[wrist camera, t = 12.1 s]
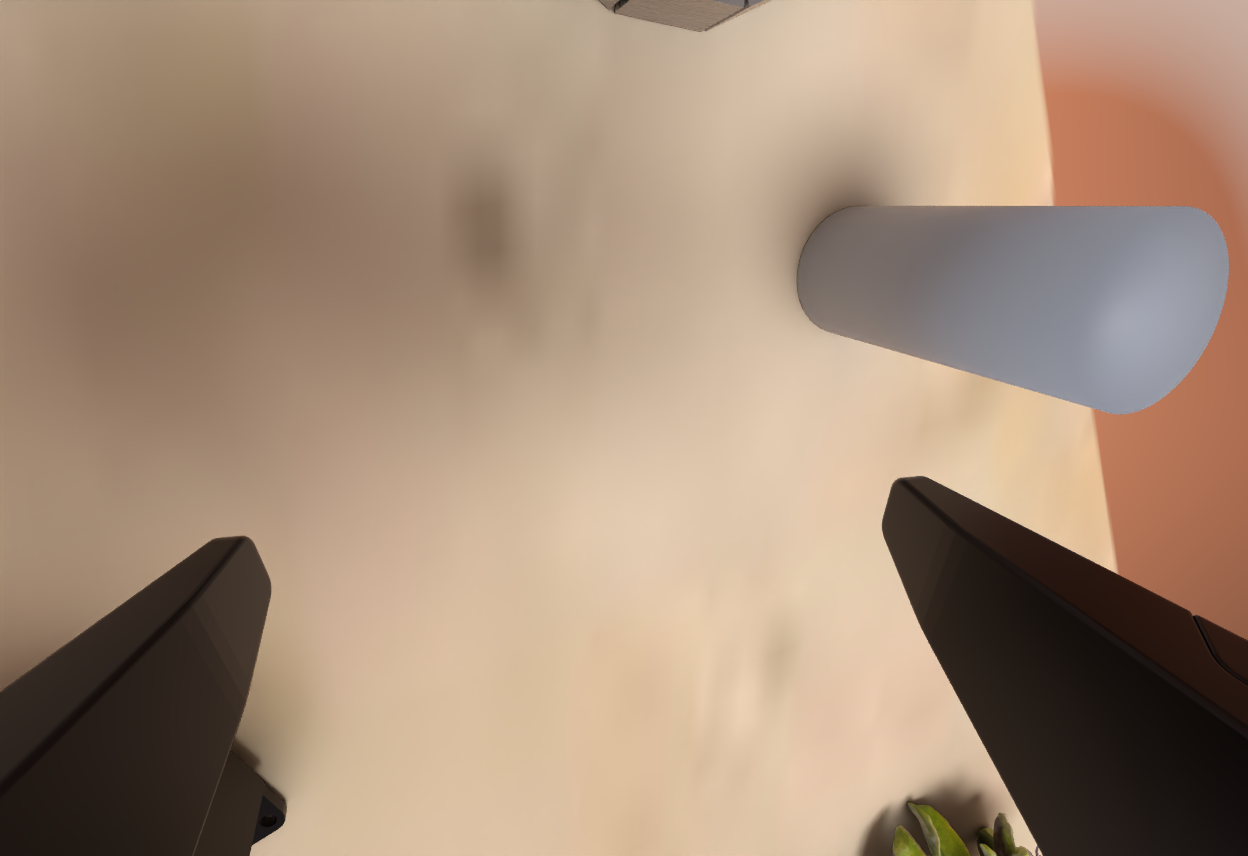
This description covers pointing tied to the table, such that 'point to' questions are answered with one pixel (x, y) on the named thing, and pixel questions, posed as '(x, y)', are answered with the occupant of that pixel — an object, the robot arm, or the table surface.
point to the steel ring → (684, 11)
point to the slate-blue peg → (1027, 292)
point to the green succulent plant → (955, 837)
